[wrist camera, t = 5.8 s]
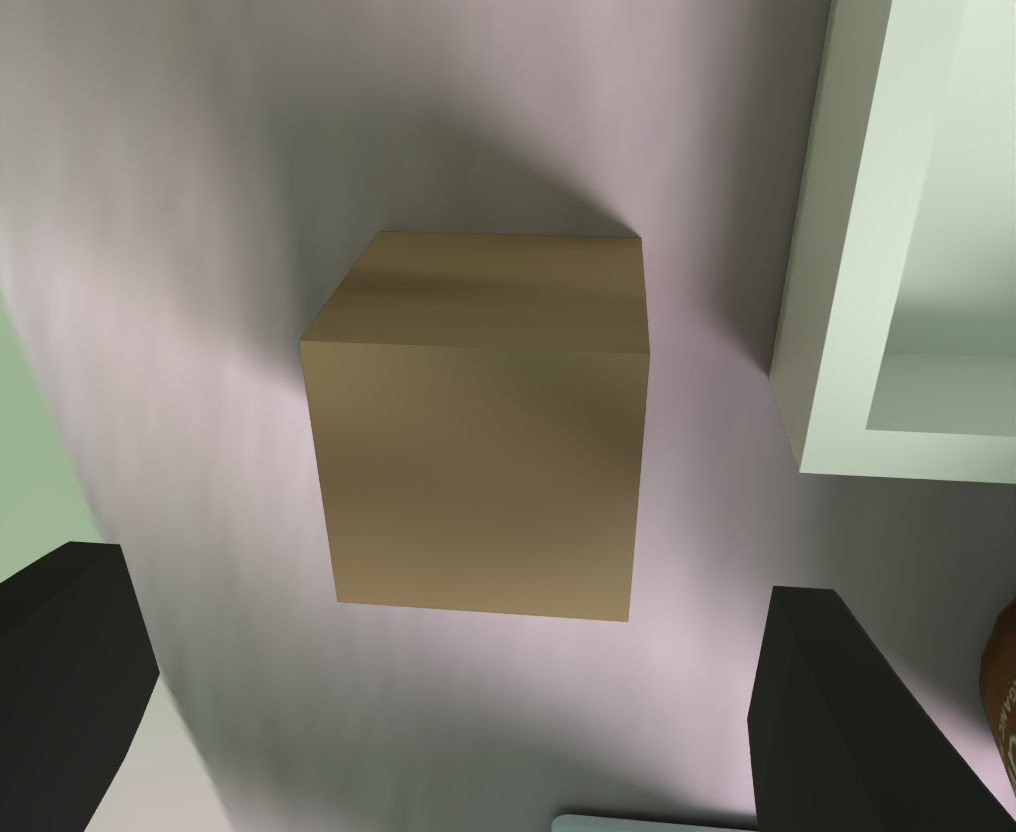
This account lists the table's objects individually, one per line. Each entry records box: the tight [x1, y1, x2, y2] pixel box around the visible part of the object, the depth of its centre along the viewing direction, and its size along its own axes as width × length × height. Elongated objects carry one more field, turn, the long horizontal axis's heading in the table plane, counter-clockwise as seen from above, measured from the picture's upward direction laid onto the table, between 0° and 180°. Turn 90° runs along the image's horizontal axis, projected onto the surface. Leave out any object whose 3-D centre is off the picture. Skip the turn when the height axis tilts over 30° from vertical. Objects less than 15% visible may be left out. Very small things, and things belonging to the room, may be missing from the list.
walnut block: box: [299, 231, 650, 622], centre depth 14 cm, size 4×4×4 cm
